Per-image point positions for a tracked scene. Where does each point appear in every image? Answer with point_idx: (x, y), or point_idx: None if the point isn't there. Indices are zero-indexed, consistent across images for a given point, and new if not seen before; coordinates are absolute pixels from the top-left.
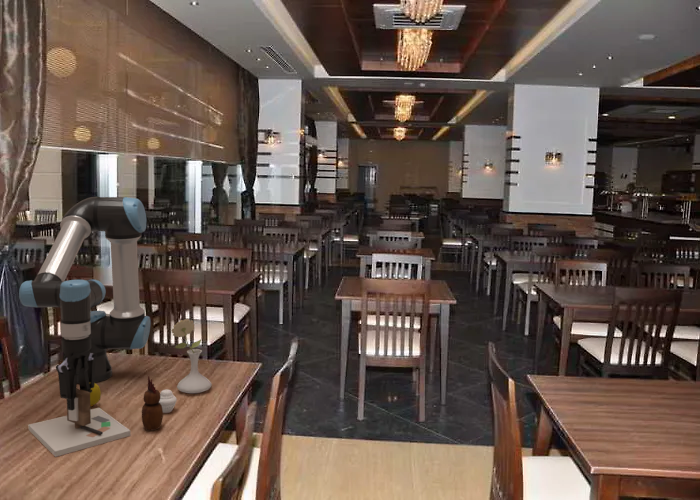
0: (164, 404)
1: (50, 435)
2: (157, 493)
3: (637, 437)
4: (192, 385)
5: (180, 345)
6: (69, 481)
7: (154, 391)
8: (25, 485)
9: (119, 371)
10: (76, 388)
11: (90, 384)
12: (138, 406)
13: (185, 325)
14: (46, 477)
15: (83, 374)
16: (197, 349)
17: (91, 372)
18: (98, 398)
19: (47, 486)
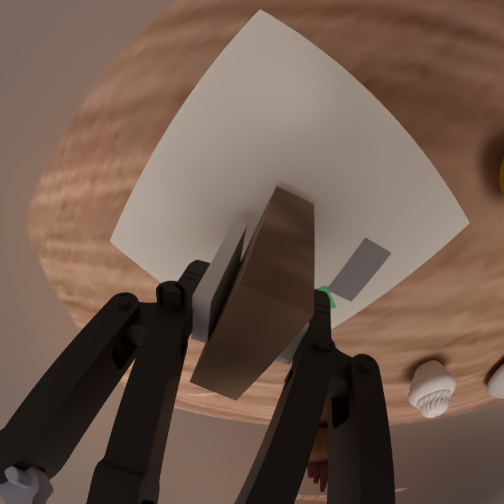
0: (408, 394)
1: (183, 162)
2: (124, 385)
3: (308, 498)
4: (497, 388)
5: None
6: (80, 298)
7: (307, 467)
8: (42, 239)
9: None
10: (289, 338)
11: (331, 401)
12: (477, 307)
13: None
14: (67, 259)
15: (247, 479)
16: None
17: (328, 482)
18: None
19: (57, 273)
